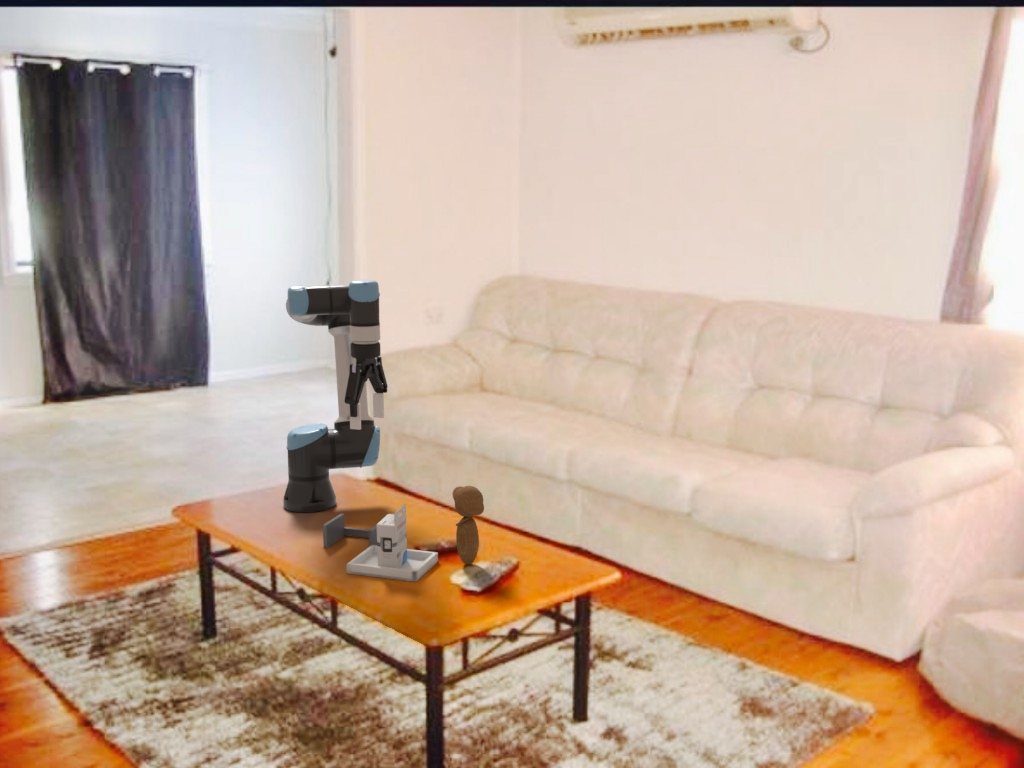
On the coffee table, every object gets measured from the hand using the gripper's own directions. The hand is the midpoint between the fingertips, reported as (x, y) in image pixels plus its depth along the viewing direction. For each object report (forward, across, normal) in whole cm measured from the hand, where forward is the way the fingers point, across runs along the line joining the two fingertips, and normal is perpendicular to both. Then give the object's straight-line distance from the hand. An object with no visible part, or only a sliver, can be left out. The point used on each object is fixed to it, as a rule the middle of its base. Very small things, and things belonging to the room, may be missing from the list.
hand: (367, 423), depth 267 cm
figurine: (+32, +9, +31) cm, 45 cm away
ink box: (+31, +17, +14) cm, 38 cm away
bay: (+31, +4, -2) cm, 32 cm away
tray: (+31, +17, +14) cm, 38 cm away
